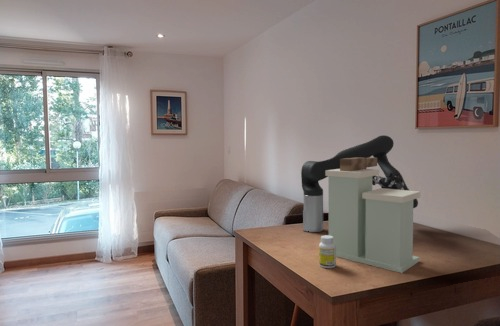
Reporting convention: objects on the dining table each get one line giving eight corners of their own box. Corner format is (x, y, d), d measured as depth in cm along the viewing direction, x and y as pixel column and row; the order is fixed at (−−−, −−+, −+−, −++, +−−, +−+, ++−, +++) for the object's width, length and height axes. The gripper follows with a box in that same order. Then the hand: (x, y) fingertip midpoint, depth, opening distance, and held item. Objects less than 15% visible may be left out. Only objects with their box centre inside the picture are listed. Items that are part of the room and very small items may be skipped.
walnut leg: (350, 171, 130) (350, 159, 130) (339, 170, 133) (339, 158, 133) (378, 167, 146) (378, 156, 145) (368, 166, 149) (368, 156, 149)
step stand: (401, 273, 117) (403, 175, 115) (325, 253, 137) (325, 170, 135) (419, 261, 127) (420, 171, 125) (346, 245, 148) (346, 167, 146)
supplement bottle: (323, 261, 129) (323, 233, 128) (338, 265, 125) (338, 236, 124) (316, 266, 124) (316, 237, 124) (331, 269, 121) (331, 239, 120)
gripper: (380, 180, 168) (365, 165, 158) (411, 182, 158) (398, 166, 148) (376, 195, 166) (361, 180, 156) (407, 198, 156) (394, 183, 145)
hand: (379, 173), depth 152 cm, fingers open, 8 cm apart
